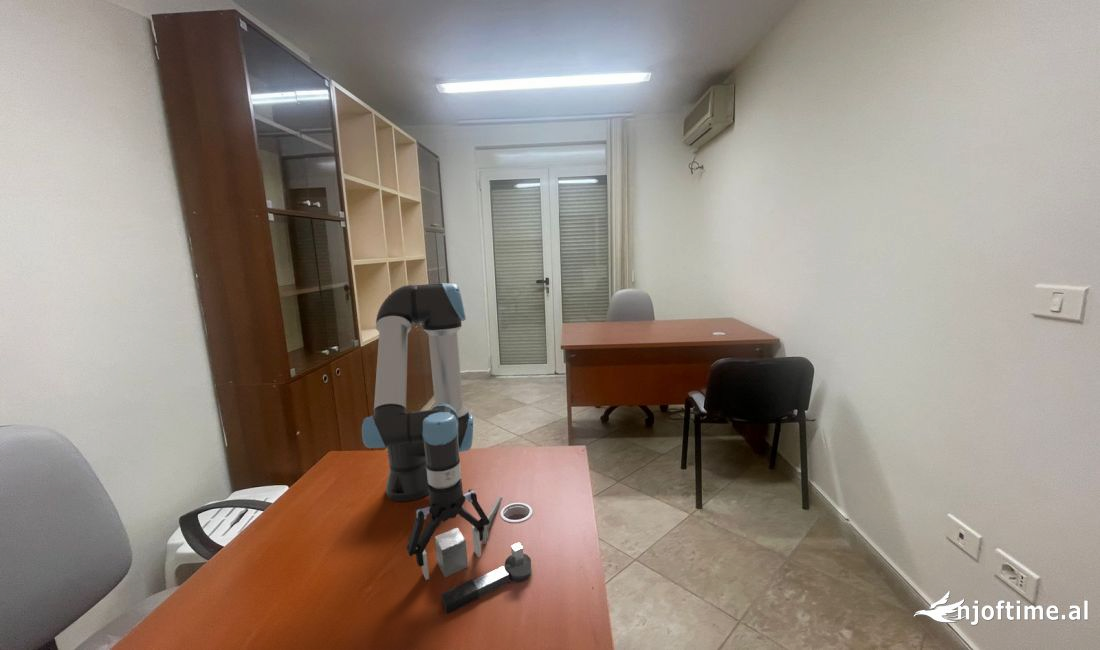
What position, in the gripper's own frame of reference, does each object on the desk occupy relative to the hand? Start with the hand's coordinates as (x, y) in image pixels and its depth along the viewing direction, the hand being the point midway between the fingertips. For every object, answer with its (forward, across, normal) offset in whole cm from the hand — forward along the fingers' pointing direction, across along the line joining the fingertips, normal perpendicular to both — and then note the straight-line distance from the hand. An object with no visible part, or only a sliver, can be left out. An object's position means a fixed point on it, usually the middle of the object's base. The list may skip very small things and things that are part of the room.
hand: (452, 564), depth 97 cm
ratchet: (0, +5, -11) cm, 12 cm away
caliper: (+1, +15, +10) cm, 18 cm away
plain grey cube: (0, 0, 0) cm, 0 cm away
